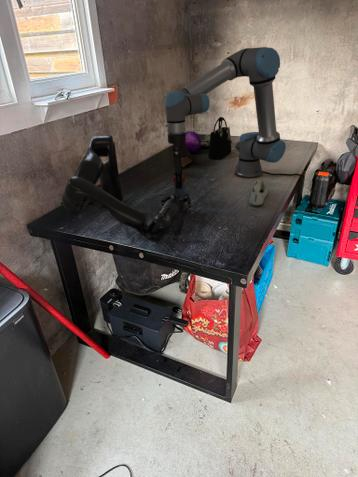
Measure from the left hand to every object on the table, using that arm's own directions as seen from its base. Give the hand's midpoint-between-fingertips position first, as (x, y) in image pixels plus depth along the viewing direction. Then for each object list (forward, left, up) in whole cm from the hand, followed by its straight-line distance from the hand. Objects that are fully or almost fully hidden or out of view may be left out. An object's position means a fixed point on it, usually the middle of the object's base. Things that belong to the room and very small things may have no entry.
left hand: (181, 195), depth 152 cm
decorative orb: (-19, +89, -6) cm, 91 cm away
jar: (0, -3, -6) cm, 7 cm away
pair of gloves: (-12, +115, -6) cm, 116 cm away
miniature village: (+25, +111, -6) cm, 114 cm away
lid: (0, -3, +10) cm, 10 cm away
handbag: (+3, +85, -6) cm, 86 cm away
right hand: (0, -3, +6) cm, 6 cm away
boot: (-17, +66, -6) cm, 68 cm away
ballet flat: (+34, +17, -6) cm, 38 cm away
